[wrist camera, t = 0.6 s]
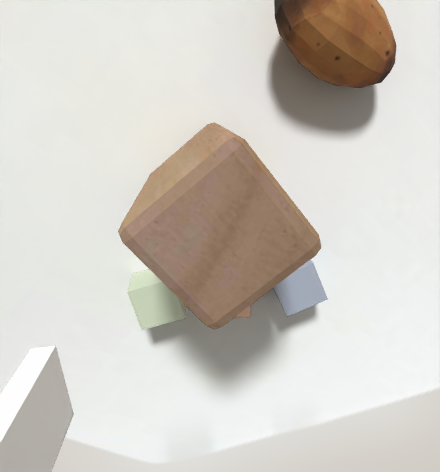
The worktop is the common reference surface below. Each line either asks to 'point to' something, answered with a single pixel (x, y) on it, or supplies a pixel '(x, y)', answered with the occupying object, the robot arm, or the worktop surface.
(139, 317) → the sage cube
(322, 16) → the potato
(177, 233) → the wooden block
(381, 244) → the worktop surface
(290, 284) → the slate cube
